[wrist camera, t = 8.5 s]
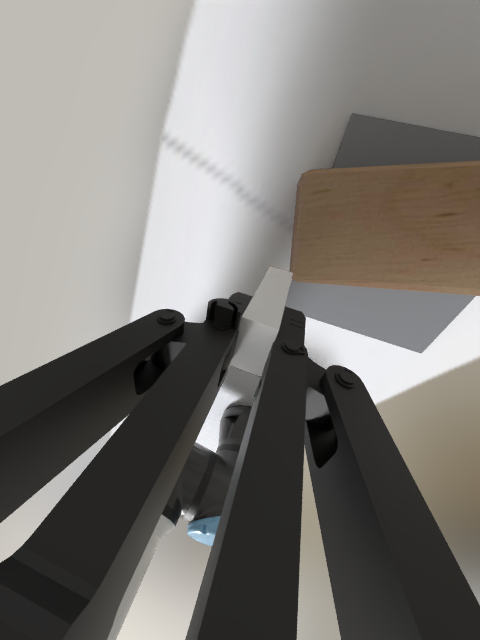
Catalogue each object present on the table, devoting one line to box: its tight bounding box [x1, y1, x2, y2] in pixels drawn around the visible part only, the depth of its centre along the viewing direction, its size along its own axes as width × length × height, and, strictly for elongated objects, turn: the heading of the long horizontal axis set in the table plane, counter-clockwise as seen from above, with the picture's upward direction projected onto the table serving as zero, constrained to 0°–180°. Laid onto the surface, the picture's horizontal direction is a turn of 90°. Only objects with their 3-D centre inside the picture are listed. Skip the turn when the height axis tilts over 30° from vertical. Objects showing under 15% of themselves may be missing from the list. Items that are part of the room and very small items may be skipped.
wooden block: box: [290, 161, 480, 296], centre depth 22 cm, size 10×10×20 cm
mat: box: [285, 114, 480, 353], centre depth 28 cm, size 24×22×1 cm
